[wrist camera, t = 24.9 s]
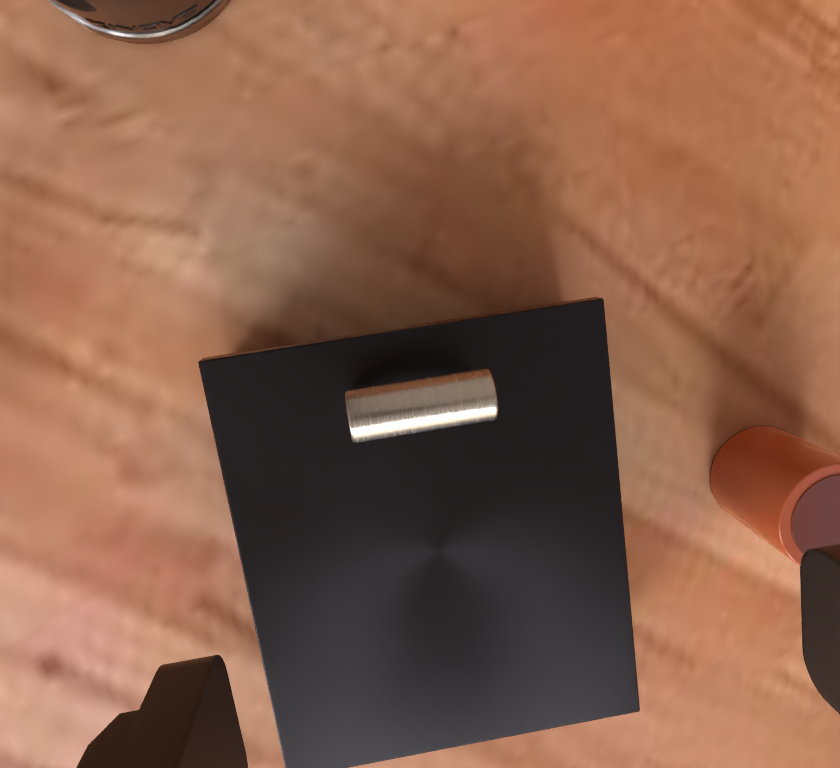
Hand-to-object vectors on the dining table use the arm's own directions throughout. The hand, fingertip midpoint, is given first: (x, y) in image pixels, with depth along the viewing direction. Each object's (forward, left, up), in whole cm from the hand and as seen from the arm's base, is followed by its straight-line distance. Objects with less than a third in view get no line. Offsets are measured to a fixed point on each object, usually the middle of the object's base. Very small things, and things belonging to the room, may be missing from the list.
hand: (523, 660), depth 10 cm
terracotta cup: (+9, +17, -24) cm, 31 cm away
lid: (+7, 0, -19) cm, 20 cm away
